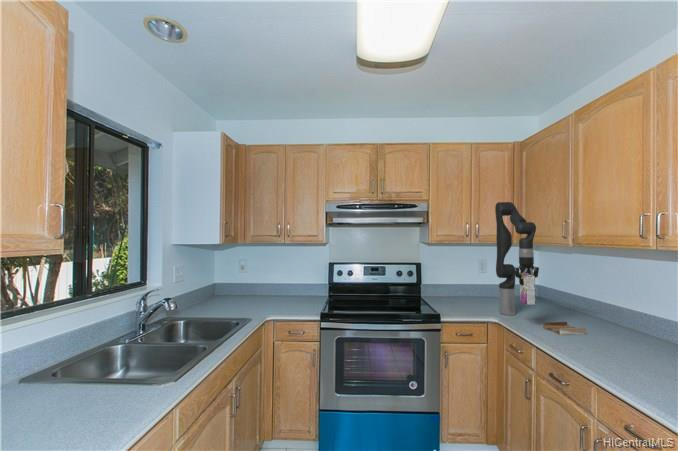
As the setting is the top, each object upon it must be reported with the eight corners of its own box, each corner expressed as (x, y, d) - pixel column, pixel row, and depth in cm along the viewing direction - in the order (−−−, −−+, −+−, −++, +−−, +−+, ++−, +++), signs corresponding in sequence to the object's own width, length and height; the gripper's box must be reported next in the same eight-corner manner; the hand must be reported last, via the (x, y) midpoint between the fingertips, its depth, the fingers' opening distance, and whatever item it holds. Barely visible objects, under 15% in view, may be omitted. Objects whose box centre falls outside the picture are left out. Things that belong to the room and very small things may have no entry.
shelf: (543, 327, 185) (542, 322, 185) (566, 326, 186) (566, 321, 186) (560, 335, 171) (560, 328, 171) (585, 334, 172) (585, 328, 172)
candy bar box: (519, 300, 195) (518, 273, 195) (528, 301, 194) (527, 273, 194) (526, 305, 184) (525, 276, 184) (535, 305, 183) (535, 276, 183)
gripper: (533, 255, 194) (534, 283, 193) (510, 255, 193) (511, 284, 193) (542, 256, 186) (543, 285, 186) (518, 256, 185) (519, 286, 185)
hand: (526, 284), depth 189 cm, fingers closed on candy bar box, 5 cm apart
